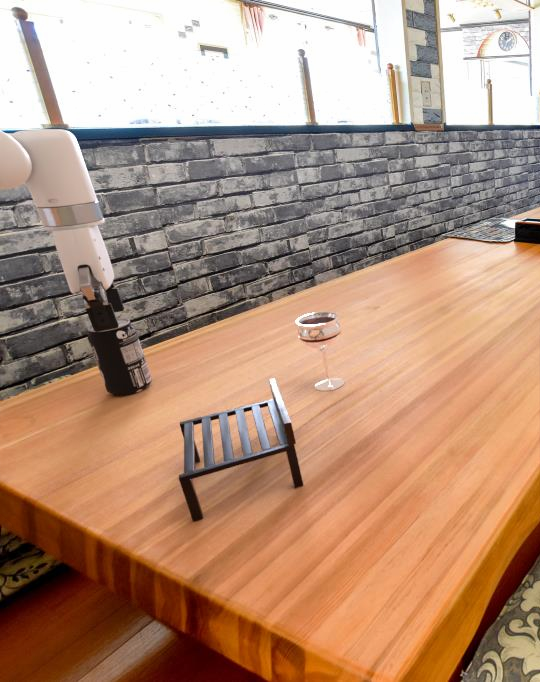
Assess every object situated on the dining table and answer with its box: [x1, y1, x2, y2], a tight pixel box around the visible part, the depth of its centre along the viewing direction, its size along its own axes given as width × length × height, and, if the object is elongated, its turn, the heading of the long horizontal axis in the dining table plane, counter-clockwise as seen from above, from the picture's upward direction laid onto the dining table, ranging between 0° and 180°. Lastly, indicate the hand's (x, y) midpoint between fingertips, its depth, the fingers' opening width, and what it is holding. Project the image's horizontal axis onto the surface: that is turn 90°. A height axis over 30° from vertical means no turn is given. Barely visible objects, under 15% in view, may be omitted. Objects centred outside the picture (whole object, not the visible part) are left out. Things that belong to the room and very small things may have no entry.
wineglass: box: [295, 311, 345, 392], centre depth 89 cm, size 7×7×12 cm
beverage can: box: [87, 317, 153, 397], centre depth 90 cm, size 7×7×12 cm
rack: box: [178, 378, 304, 522], centre depth 67 cm, size 12×14×9 cm
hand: (110, 320), depth 88 cm, fingers open, 9 cm apart
